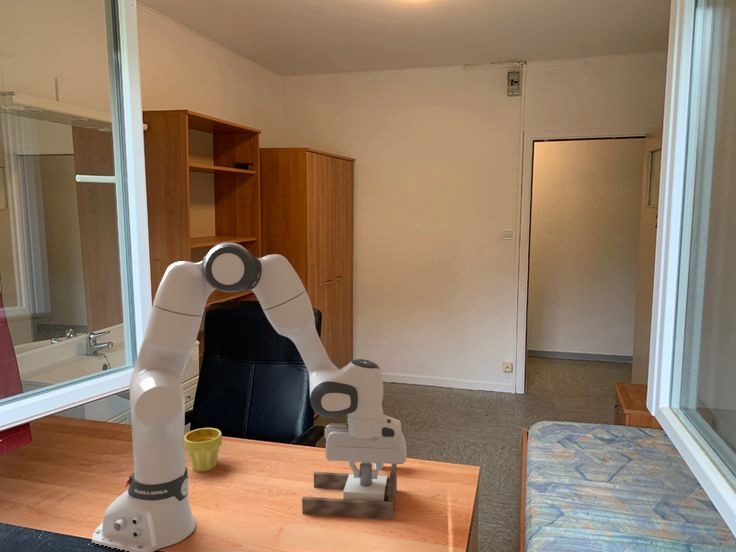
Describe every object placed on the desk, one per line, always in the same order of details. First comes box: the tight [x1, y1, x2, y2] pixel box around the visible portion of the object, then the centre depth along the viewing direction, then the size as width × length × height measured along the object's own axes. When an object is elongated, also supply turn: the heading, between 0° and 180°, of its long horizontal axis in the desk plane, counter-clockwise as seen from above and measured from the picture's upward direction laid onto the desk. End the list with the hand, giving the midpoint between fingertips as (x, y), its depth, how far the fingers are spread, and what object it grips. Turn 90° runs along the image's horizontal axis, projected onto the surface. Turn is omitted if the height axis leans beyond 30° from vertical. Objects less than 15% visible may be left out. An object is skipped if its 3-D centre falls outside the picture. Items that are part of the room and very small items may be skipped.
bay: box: [301, 464, 398, 521], centre depth 138 cm, size 22×14×9 cm, turn 83°
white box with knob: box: [342, 462, 388, 502], centre depth 138 cm, size 10×9×10 cm
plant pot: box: [184, 427, 223, 472], centre depth 160 cm, size 10×10×10 cm
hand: (365, 477), depth 137 cm, fingers closed on white box with knob, 3 cm apart
